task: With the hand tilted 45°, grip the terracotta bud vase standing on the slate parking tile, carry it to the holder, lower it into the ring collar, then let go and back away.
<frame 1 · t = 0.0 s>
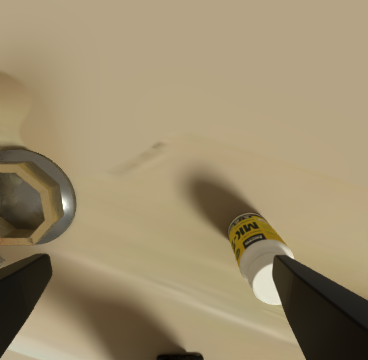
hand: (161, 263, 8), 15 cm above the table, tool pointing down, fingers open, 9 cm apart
supplement bottle: (247, 230, 24), on the table
holder: (27, 198, 23), on the table
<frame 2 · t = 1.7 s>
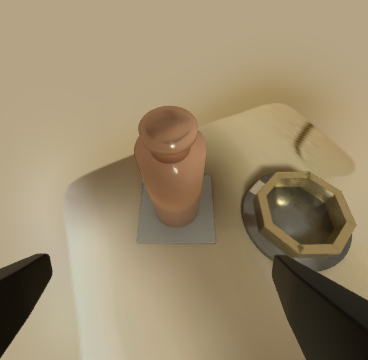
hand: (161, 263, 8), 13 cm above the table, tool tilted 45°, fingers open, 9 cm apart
vase: (176, 205, 23), point 1 cm above the table, touching parking tile
parking tile: (177, 207, 23), on the table
holder: (293, 217, 23), on the table
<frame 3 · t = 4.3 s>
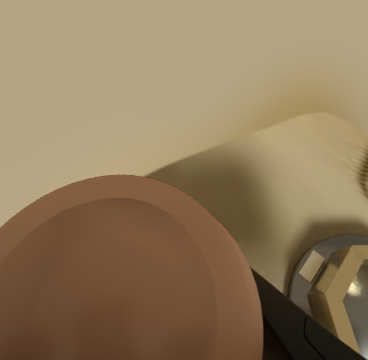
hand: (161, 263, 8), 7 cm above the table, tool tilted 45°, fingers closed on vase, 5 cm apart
vase: (170, 303, 13), point 1 cm above the table, touching gripper, parking tile
when the fingers open (7 cm above the table, at t = 8.3 s): vase stays where it is, resting on holder.
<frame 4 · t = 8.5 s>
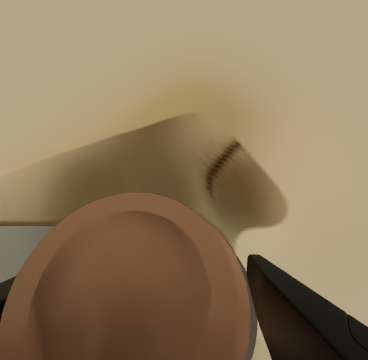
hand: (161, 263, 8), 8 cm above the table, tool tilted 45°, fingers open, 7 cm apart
vase: (170, 304, 13), point 1 cm above the table, touching holder
holder: (172, 303, 14), on the table
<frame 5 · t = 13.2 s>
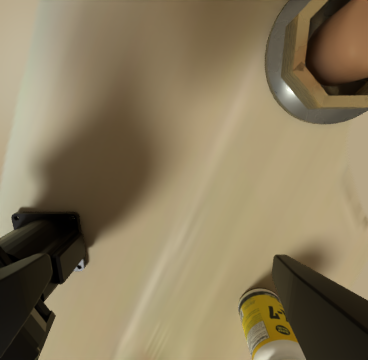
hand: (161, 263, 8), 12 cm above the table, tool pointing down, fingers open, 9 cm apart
supplement bottle: (257, 303, 23), on the table
vase: (336, 52, 16), point 1 cm above the table, touching holder
holder: (332, 54, 17), on the table
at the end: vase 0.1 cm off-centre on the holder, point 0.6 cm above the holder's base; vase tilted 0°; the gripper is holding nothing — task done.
